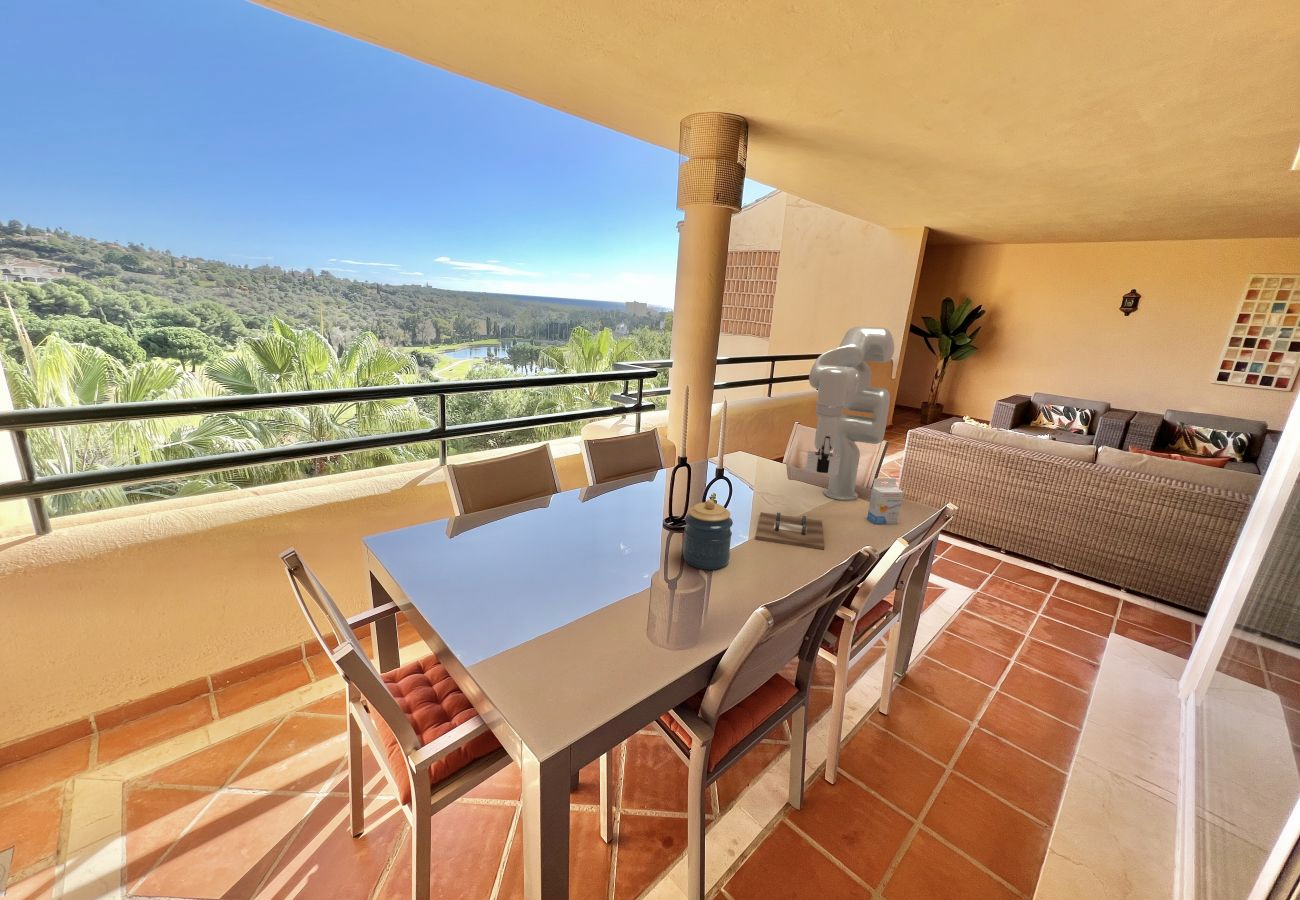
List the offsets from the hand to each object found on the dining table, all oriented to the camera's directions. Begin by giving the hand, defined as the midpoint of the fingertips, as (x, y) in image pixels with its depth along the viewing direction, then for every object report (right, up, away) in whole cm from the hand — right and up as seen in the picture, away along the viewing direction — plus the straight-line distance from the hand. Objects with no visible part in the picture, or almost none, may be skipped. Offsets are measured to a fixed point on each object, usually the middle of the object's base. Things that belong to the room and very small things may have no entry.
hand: (821, 469), depth 152 cm
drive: (0, -1, 0) cm, 1 cm away
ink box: (+27, -19, +18) cm, 37 cm away
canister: (-37, -25, -13) cm, 46 cm away
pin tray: (-8, -20, +7) cm, 23 cm away
